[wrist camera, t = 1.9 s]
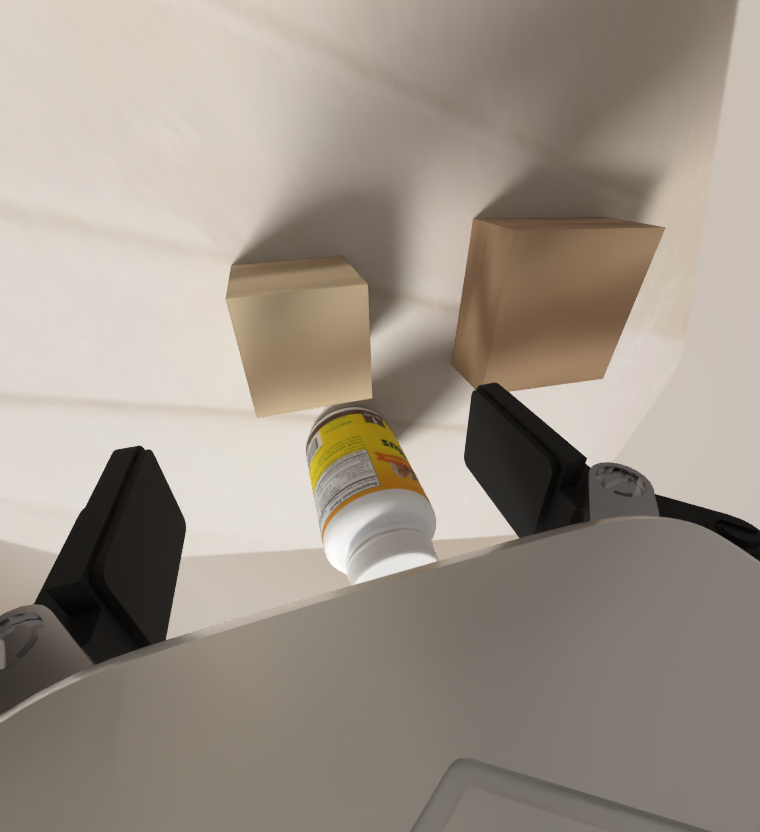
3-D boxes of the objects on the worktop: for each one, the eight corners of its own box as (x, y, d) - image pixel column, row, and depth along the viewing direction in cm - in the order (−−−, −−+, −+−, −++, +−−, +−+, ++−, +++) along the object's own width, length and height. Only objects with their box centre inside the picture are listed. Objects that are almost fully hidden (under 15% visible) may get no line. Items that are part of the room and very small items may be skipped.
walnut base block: (470, 217, 19) (515, 230, 15) (601, 216, 20) (665, 227, 17) (449, 362, 23) (481, 395, 20) (558, 350, 25) (602, 378, 22)
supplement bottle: (399, 449, 26) (468, 584, 18) (326, 483, 25) (361, 635, 17) (373, 387, 22) (443, 519, 14) (288, 426, 22) (310, 582, 14)
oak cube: (231, 264, 17) (225, 298, 13) (341, 255, 18) (367, 283, 14) (255, 365, 19) (257, 417, 16) (348, 351, 21) (372, 398, 17)
